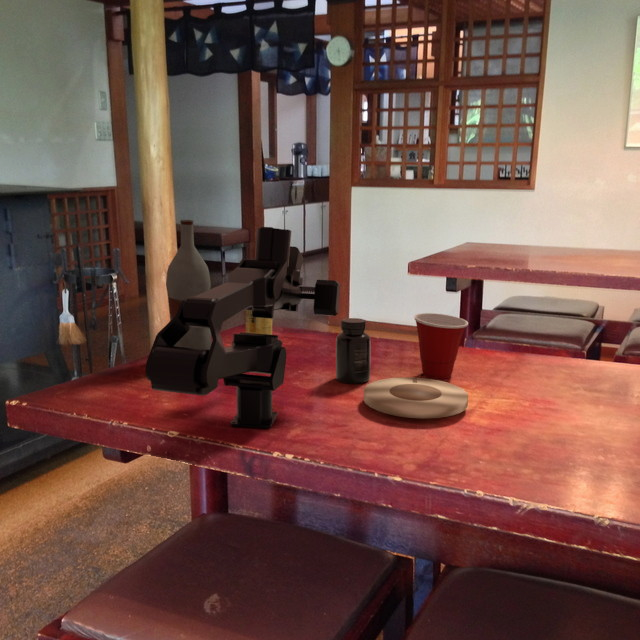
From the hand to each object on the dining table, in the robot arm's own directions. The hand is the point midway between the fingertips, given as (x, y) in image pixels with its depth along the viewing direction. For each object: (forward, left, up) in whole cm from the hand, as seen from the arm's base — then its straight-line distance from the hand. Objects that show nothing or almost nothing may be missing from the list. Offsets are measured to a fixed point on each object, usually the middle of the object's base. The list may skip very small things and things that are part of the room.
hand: (301, 299), depth 129 cm
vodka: (+10, +26, -16) cm, 32 cm away
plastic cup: (+7, -27, -16) cm, 33 cm away
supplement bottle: (+1, -10, -16) cm, 19 cm away
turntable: (-13, -22, -16) cm, 30 cm away
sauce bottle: (+25, +14, -16) cm, 33 cm away
